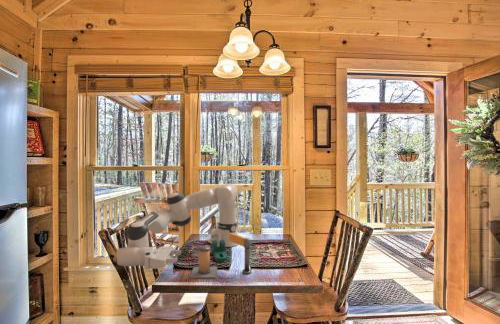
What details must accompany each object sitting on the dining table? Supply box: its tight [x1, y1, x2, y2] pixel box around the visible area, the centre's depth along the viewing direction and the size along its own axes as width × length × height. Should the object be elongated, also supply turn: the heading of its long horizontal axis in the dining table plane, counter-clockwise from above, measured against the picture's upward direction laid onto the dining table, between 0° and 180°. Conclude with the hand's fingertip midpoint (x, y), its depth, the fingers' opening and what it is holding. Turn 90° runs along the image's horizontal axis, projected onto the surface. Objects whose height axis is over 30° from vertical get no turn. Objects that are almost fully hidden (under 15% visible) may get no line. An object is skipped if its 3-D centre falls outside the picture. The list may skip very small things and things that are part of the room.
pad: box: [189, 266, 218, 280], centre depth 139 cm, size 12×12×1 cm
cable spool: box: [197, 245, 212, 274], centre depth 138 cm, size 6×6×12 cm
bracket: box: [211, 240, 229, 263], centre depth 162 cm, size 18×7×8 cm, turn 15°
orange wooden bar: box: [229, 233, 251, 249], centre depth 144 cm, size 16×3×4 cm, turn 40°
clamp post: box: [241, 247, 252, 275], centre depth 140 cm, size 4×4×12 cm
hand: (179, 256), depth 138 cm, fingers open, 8 cm apart
